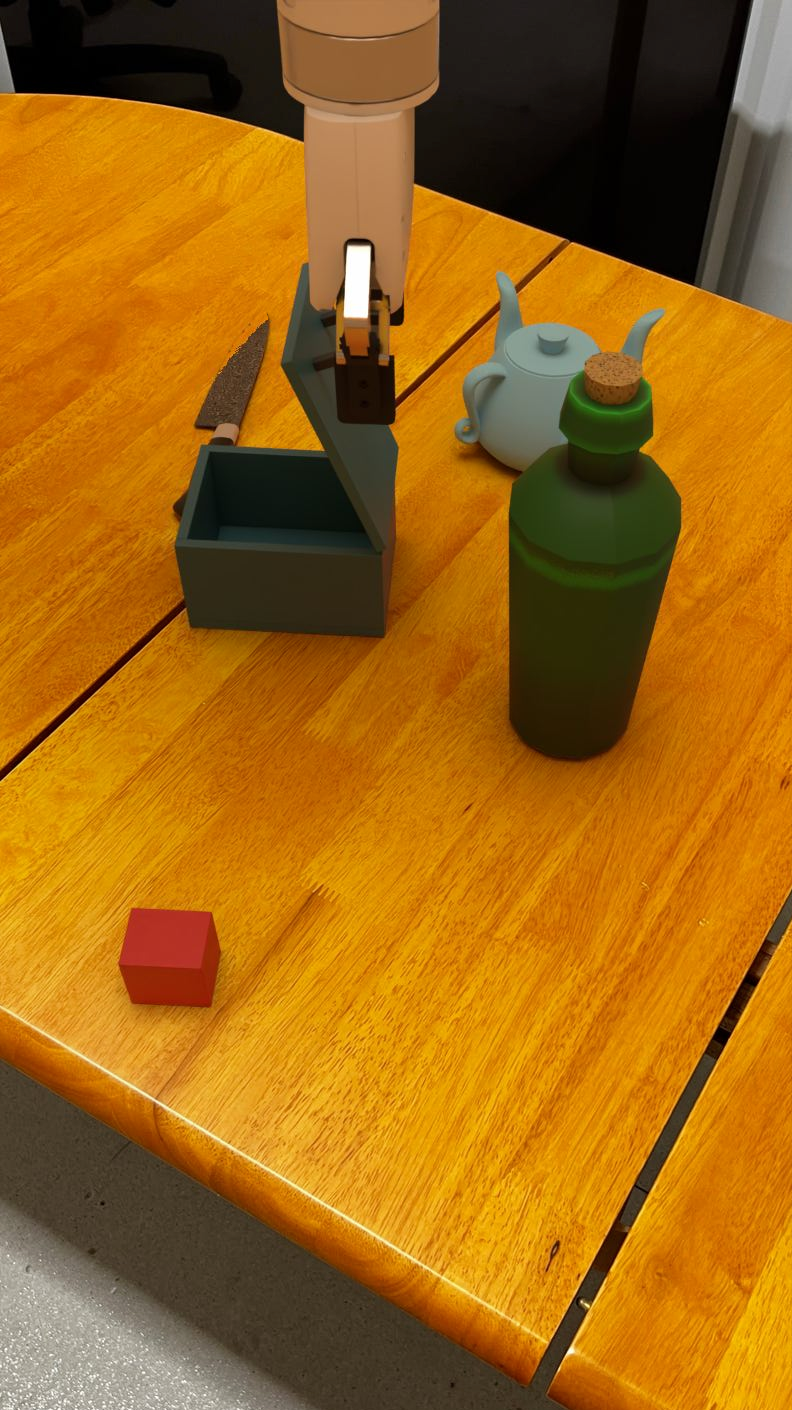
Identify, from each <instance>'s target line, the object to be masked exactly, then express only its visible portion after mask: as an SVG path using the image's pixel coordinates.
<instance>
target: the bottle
mask: <svg viewBox="0 0 792 1410" xmlns="http://www.w3.org/2000/svg"><path fill="white" fill-rule="evenodd" d="M643 367H644V366H643V364H642V365H641V364H640V363H639V362H638V361H637V360H636V359H635V358H633V357H631V356H629V355H626V354H624V353H620V351H608V350H607V351H602V353H598V354H594V355H592V356H591V357H590V358H589V359H587V360H586V361H585V367H584V370H582V371H581V372H580V373H578V374H577V375H576V376H575V377H574V378H573V379H571V381H570V384H569V387H568V390H567V393H566V396H565V399H564V402H563V405H562V408H561V411H560V418H559V429H560V430H561V432H562V433H563V434H564V435H565V437H566V438H567V439H568V443H567V444H563V445H559V446H555V447H551V448H549V449H548V450H547V451H546V452H545V453H543V454H542V455H541V456H540V457H539V458H538V459H537V460H536V461H534V462H533V463H532V464H531V465H530V466H529V467H528V468H527V469H526V470H525V471H524V472H522V473H521V474H520V475H518V477H517V478H516V479H515V480H514V481H513V482H512V483H511V489H510V497H509V507H508V708H509V709H508V716H509V717H508V720H509V721H510V723H511V724H512V727H513V728H514V729H515V731H516V732H517V734H518V736H519V738H520V739H521V740H522V742H523V743H525V744H526V745H527V744H528V745H529V746H531V747H533V748H535V749H536V750H538V751H540V752H541V753H544V754H546V755H547V756H550V757H559V758H569V759H570V758H571V759H585V758H589V757H591V756H594V755H596V754H599V753H600V754H601V753H602V752H605V751H609V750H611V749H612V747H613V746H614V745H615V744H616V743H617V742H618V741H619V739H620V738H621V737H622V736H623V735H624V734H625V732H626V731H627V729H628V726H629V722H630V718H631V716H632V715H631V714H632V711H633V707H634V705H635V700H636V696H637V692H638V689H639V685H640V682H641V678H642V675H643V671H644V667H645V663H646V661H647V655H648V652H649V648H650V646H651V645H650V644H651V641H652V637H653V633H654V630H655V626H656V624H657V623H656V622H657V619H658V615H659V611H660V607H661V604H662V601H663V597H664V594H665V589H666V585H667V582H668V578H669V575H670V571H671V568H672V565H673V564H672V563H673V560H674V556H675V552H676V549H677V545H678V542H679V539H680V534H681V531H682V497H681V495H680V494H679V492H678V490H677V489H676V487H675V486H674V483H673V482H672V480H671V479H670V477H669V476H668V475H667V474H666V472H665V471H664V470H663V469H662V468H661V466H660V465H659V464H658V463H657V461H656V460H654V458H653V457H652V456H651V455H649V454H646V453H645V452H642V451H640V450H641V448H643V446H644V445H645V444H646V443H648V442H649V441H650V440H651V439H652V438H653V437H654V408H653V407H654V406H653V393H652V391H653V390H652V385H651V384H650V383H649V382H648V381H647V380H646V379H645V378H644V377H643V373H644V371H643V369H644V368H643Z"/></svg>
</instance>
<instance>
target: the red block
mask: <svg viewBox="0 0 792 1410" xmlns="http://www.w3.org/2000/svg"><path fill="white" fill-rule="evenodd" d="M214 919H215V918H214V916H213V911H205V910H185V909H183V910H182V909H166V908H165V909H164V908H163V909H162V908H145V907H131V908H130V912H129V916H128V920H127V925H126V929H125V932H124V938H123V940H122V946H121V951H120V955H119V959H118V963H117V965H118V966H117V967H118V968H119V971H120V974H121V977H122V980H123V982H124V985H125V988H126V991H127V994H128V998H129V1000H130V1002H131V1003H132V1004H141V1005H143V1004H145V1005H166V1006H184V1007H186V1006H187V1007H205V1008H207V1007H208V1008H211V1007H212V1003H213V997H214V992H215V987H216V981H217V976H218V971H219V970H218V969H219V964H220V960H221V954H222V950H221V946H220V942H219V937H218V933H217V928H216V924H215V920H214Z"/></svg>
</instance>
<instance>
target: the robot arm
mask: <svg viewBox="0 0 792 1410" xmlns="http://www.w3.org/2000/svg"><path fill="white" fill-rule="evenodd" d="M440 8H441V7H440V0H276V12H277V25H278V37H279V50H280V58H281V59H280V60H281V61H280V63H281V70H282V81H283V82H282V83H283V85H284V89H285V90H286V91H287V92H286V93H288V94H289V95H290V96H291V97H292V98H293V99H294V100H296V101H297V102H299V103H301V104H303V105H304V107H303V108H304V109H303V161H304V163H303V164H304V166H303V167H304V189H305V190H304V191H305V192H304V193H305V209H306V211H305V213H306V215H305V216H306V231H307V232H306V233H307V235H306V236H307V253H308V255H307V256H308V257H307V258H308V262H309V283H310V303H311V304H312V306H313V307H314V308H315V309H316V310H317V311H322V310H323V309H328V310H332V308H333V306H334V305H335V310H336V353H334V372H335V388H336V403H337V417H338V420H339V421H340V422H341V423H345V424H372V425H389V426H391V425H393V424H395V422H396V417H397V408H396V407H397V405H396V404H397V403H396V365H395V364H396V363H395V362H396V361H395V354H390V334H391V333H390V332H391V331H390V330H391V327H400V326H402V325H403V324H404V322H405V284H406V278H407V270H408V263H409V255H410V246H411V236H412V225H413V209H414V191H415V190H414V189H415V129H416V128H415V124H416V123H415V120H416V119H415V111H416V110H415V108H416V107H418V106H420V105H422V104H423V103H426V102H427V101H429V100H430V99H431V97H432V96H433V95H435V94H436V92H437V90H438V88H439V86H440V11H441V10H440ZM371 325H379V338H377V335H376V332H371Z"/></svg>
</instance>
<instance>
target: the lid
mask: <svg viewBox="0 0 792 1410" xmlns="http://www.w3.org/2000/svg"><path fill="white" fill-rule="evenodd" d="M290 313H291V314H290V317H289V322H288V327H287V332H286V335H285V336H286V337H285V342H284V345H283V350H282V355H281V359H280V364H279V365H280V367H281V369H282V371H283V373H284V375H285V377H286V378H287V380H288V383H289V384H290V386H291V389H292V391H293V392H294V394H295V396H296V398H297V400H298V403H299V404H300V406H301V408H302V410H303V411H304V413H305V415H306V417H307V419H308V422H309V423H310V426H311V428H312V429H313V431H314V433H315V435H316V437H317V439H318V441H319V443H320V445H321V447H322V449H323V451H325V452H326V454H327V456H328V458H329V460H330V462H331V464H332V466H333V468H334V470H335V472H336V474H337V476H338V478H339V480H340V481H341V483H342V485H343V487H344V489H345V491H346V493H347V495H348V497H349V499H350V501H351V503H352V505H353V507H354V509H355V511H356V512H357V514H358V516H359V518H360V520H361V522H362V524H363V526H364V528H365V530H366V532H367V534H368V536H369V538H370V540H371V542H372V543H373V545H374V547H375V549H376V551H377V552H380V551H384V550H387V545H388V536H389V528H390V519H391V511H392V502H393V494H394V485H395V486H396V476H397V469H398V466H397V465H398V459H399V451H400V447H399V444H398V442H397V440H396V438H395V436H394V434H393V431H392V429H391V427H390V425H372V424H345V423H341V422H340V421H339V420H338V417H337V403H336V388H335V372H334V353H336V307H334V306H333V308H332V310H328V309H323V310H322V311H317V310H316V309H315V308H314V307H313V306H312V304H311V303H310V283H309V261H307V262H303V263H302V264H301V268H300V273H299V278H298V282H297V286H296V291H295V296H294V300H293V303H292V308H291V312H290ZM371 332H376V335H377V338H379V325H371Z"/></svg>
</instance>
